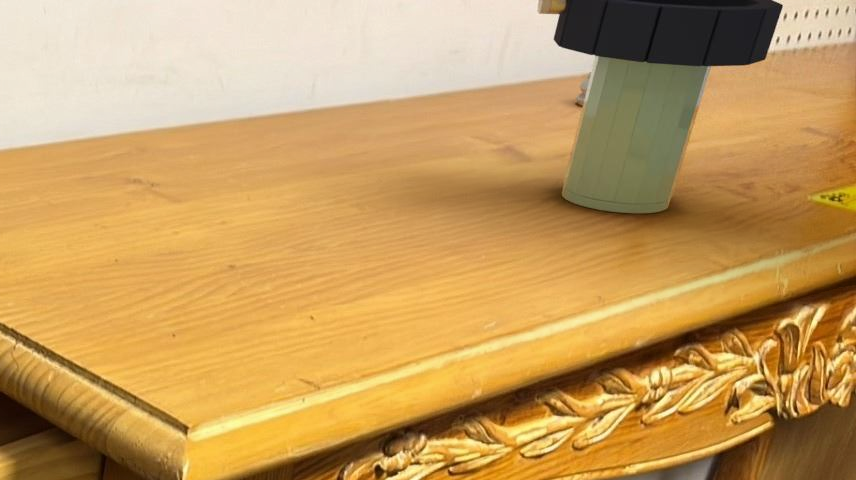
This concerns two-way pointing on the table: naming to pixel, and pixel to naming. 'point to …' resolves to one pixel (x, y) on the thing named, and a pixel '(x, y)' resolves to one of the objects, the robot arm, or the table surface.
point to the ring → (671, 30)
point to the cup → (633, 135)
